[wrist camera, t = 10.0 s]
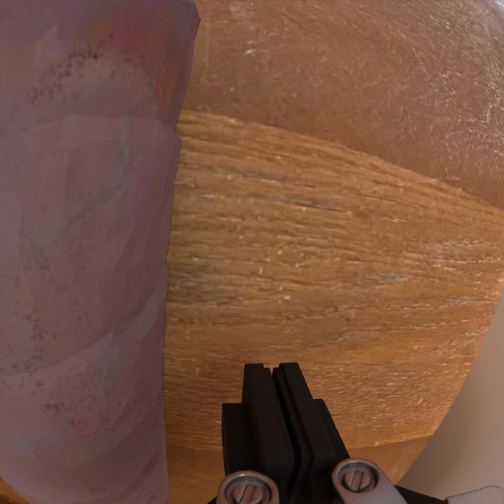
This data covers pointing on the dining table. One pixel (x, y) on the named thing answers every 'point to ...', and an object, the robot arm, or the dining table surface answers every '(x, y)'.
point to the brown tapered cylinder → (87, 243)
